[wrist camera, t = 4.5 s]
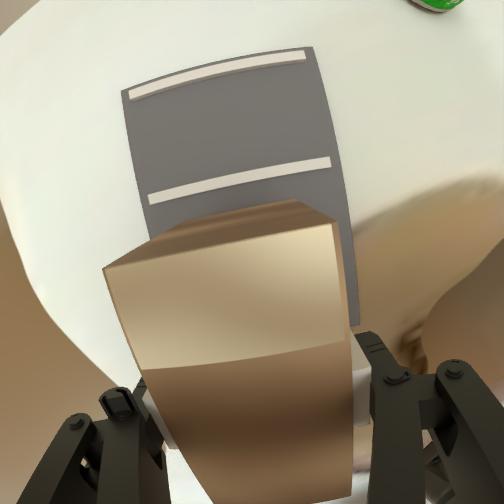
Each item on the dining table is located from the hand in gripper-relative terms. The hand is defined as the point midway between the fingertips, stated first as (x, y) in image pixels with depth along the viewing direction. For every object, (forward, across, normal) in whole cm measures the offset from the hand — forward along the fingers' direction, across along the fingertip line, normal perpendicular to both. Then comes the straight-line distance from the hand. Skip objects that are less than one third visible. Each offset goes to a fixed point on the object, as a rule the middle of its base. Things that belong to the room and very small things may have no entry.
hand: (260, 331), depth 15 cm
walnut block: (+2, 0, 0) cm, 2 cm away
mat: (+10, 0, -6) cm, 11 cm away
